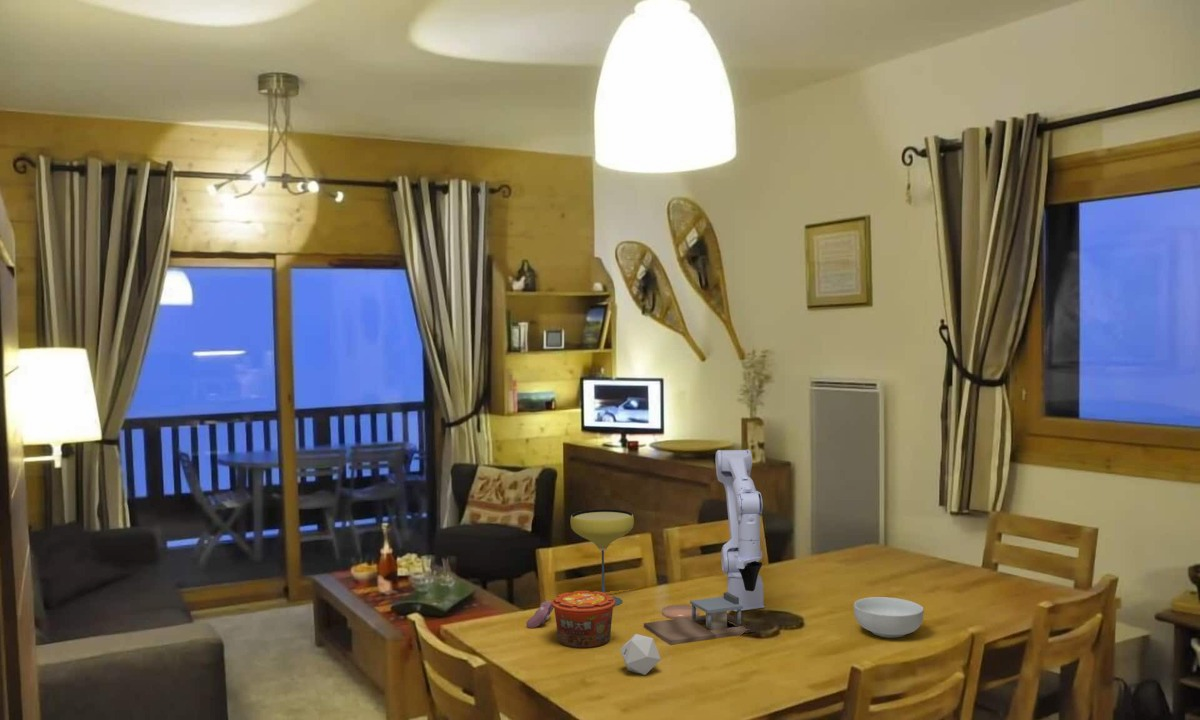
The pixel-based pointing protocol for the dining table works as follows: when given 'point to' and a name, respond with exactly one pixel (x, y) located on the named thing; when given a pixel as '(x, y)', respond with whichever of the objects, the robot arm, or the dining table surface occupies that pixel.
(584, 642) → the food container
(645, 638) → the die
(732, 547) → the robot arm
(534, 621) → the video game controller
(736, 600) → the grey miniature stool
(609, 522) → the cocktail glass
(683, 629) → the puzzle board
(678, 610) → the dish
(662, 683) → the dining table surface
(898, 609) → the cereal bowl
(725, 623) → the block
